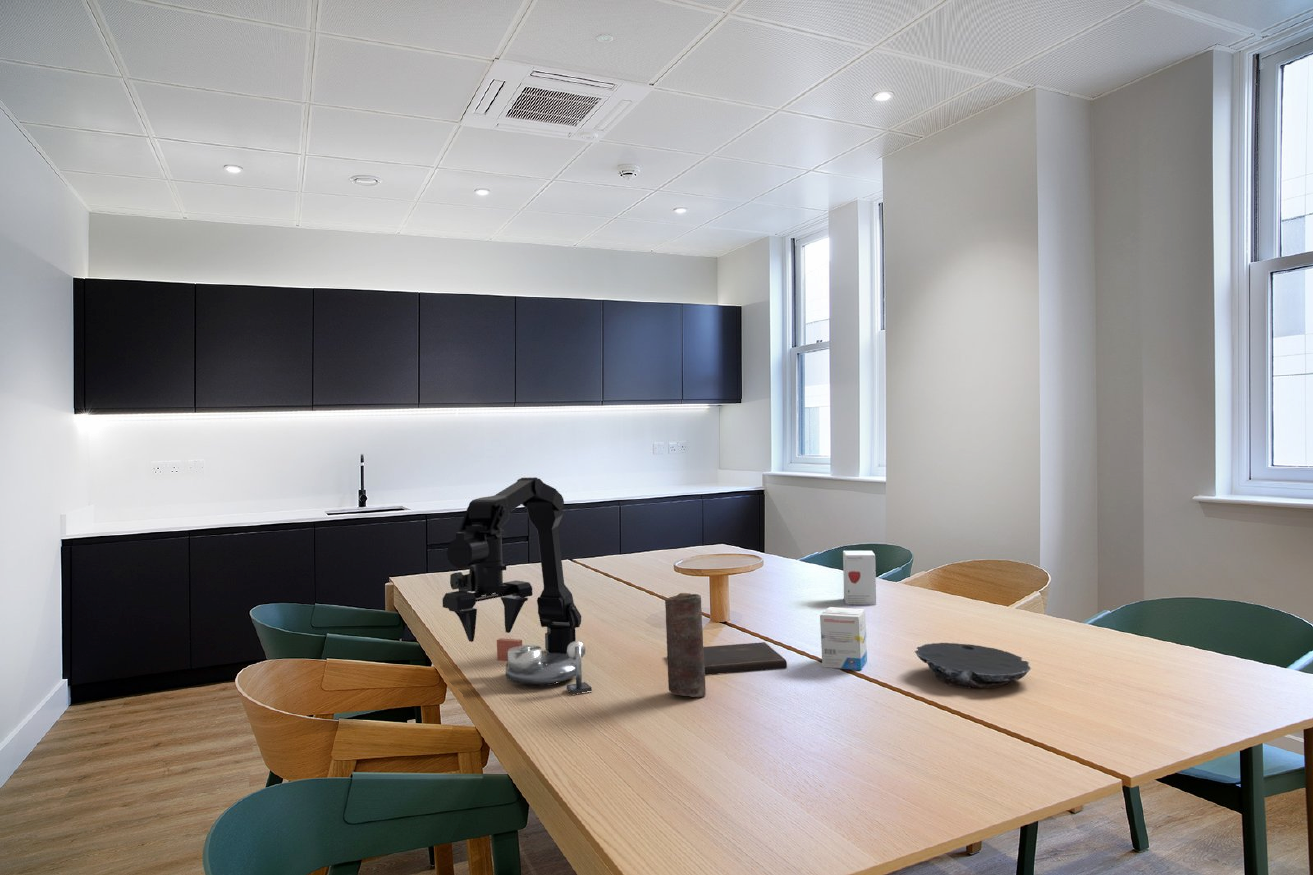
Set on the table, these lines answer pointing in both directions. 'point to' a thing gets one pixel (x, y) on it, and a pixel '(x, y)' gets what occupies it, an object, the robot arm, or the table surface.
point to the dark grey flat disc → (972, 665)
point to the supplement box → (859, 577)
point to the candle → (685, 645)
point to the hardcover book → (741, 658)
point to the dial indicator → (577, 667)
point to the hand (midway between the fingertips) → (489, 636)
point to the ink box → (843, 638)
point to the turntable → (552, 665)
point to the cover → (524, 659)
